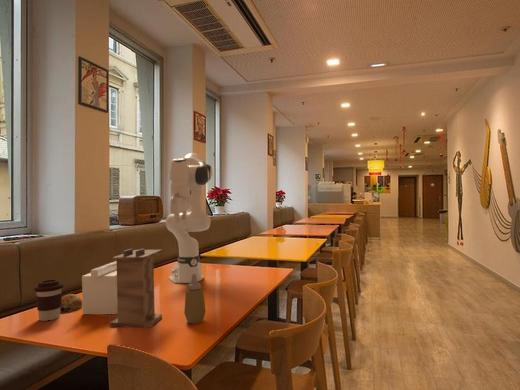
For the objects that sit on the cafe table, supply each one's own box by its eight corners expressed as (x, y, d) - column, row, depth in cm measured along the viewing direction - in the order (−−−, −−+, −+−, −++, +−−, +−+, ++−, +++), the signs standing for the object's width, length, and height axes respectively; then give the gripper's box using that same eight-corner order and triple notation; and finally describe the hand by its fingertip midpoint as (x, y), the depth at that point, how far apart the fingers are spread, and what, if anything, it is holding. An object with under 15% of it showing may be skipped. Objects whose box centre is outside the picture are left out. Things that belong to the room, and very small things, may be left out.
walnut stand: (131, 311, 146) (130, 245, 146) (168, 311, 144) (166, 244, 144) (108, 327, 128) (107, 252, 128) (150, 328, 126) (148, 251, 127)
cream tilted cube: (106, 301, 161) (105, 267, 161) (135, 301, 160) (134, 267, 160) (82, 314, 143) (81, 276, 143) (114, 315, 142) (114, 276, 142)
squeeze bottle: (185, 318, 136) (184, 272, 136) (206, 317, 137) (205, 271, 137) (183, 326, 128) (181, 277, 128) (205, 324, 129) (204, 276, 129)
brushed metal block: (122, 264, 166) (122, 258, 166) (128, 264, 166) (128, 258, 166) (90, 277, 140) (90, 270, 140) (97, 277, 140) (97, 270, 140)
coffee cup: (45, 314, 145) (44, 278, 145) (68, 314, 145) (68, 278, 145) (29, 322, 135) (28, 284, 135) (54, 322, 135) (53, 284, 135)
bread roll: (84, 315, 154) (90, 296, 157) (66, 312, 145) (72, 292, 148) (67, 313, 157) (73, 295, 160) (48, 310, 148) (55, 291, 151)
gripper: (180, 194, 155) (180, 224, 156) (192, 190, 175) (192, 217, 176) (166, 194, 155) (167, 224, 157) (180, 190, 176) (180, 217, 177)
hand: (180, 221), depth 167 cm, fingers open, 8 cm apart
